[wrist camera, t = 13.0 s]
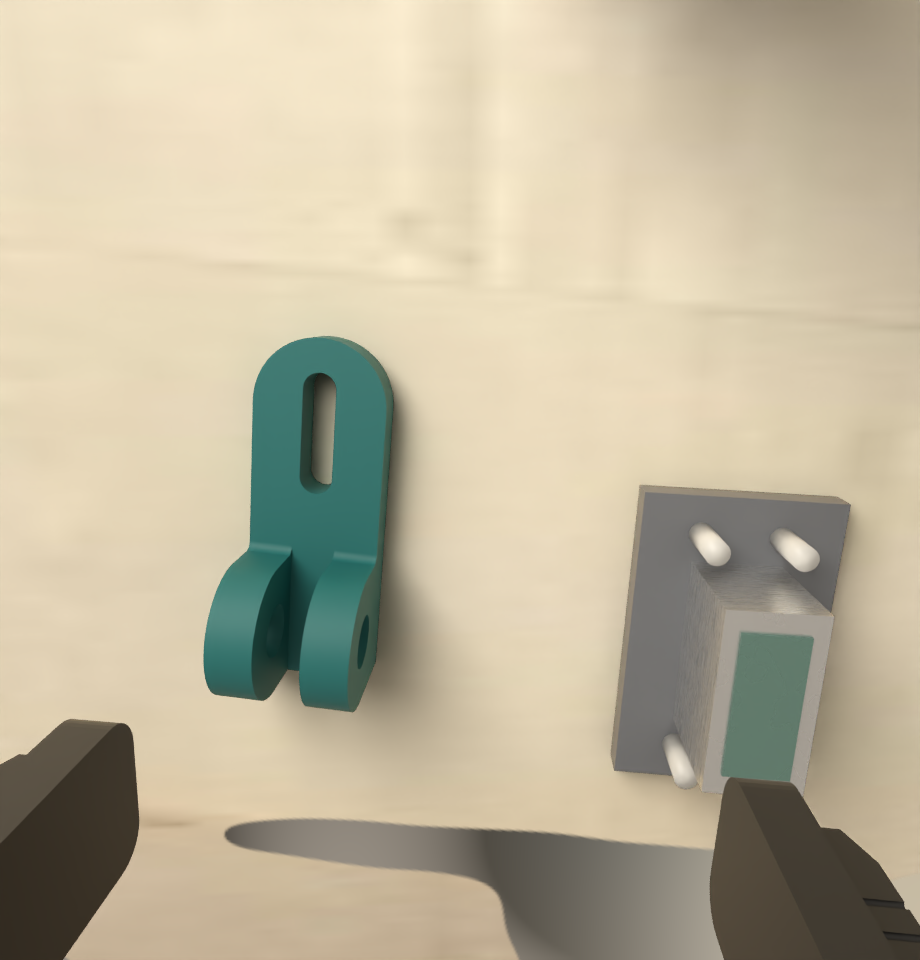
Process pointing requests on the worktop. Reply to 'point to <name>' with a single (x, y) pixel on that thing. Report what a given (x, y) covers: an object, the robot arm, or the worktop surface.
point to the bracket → (308, 535)
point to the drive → (750, 674)
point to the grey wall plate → (664, 589)
